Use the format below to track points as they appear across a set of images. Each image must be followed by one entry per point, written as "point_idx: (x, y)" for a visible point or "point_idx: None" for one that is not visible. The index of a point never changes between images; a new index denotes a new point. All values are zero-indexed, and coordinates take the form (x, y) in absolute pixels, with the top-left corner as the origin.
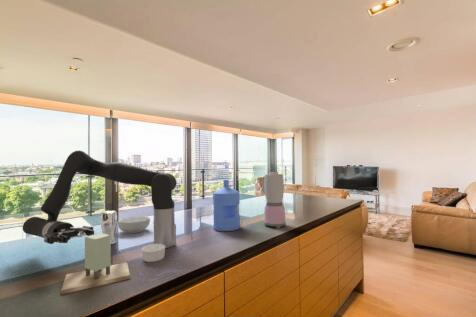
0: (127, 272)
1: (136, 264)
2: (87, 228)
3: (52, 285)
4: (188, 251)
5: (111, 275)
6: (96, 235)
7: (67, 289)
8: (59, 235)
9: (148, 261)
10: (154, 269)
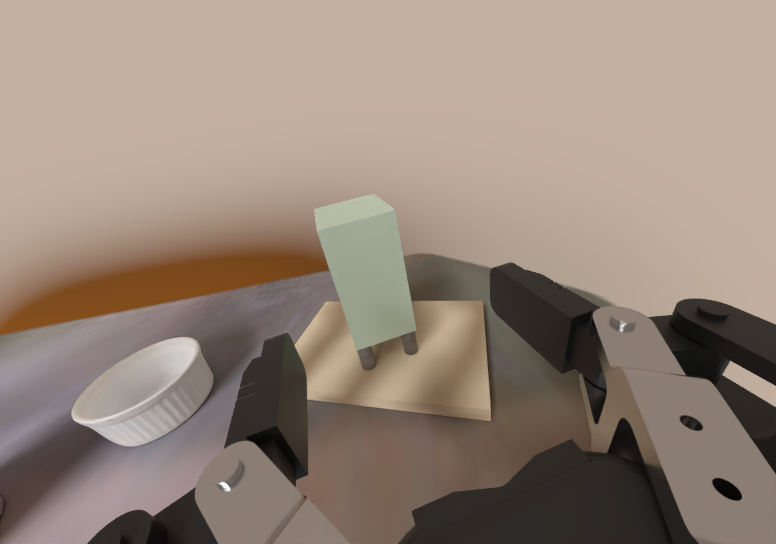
0: (321, 313)
1: None
2: (236, 457)
3: (532, 379)
4: (82, 386)
5: None
6: (350, 213)
7: (467, 302)
8: (601, 309)
9: (212, 378)
10: (260, 324)
